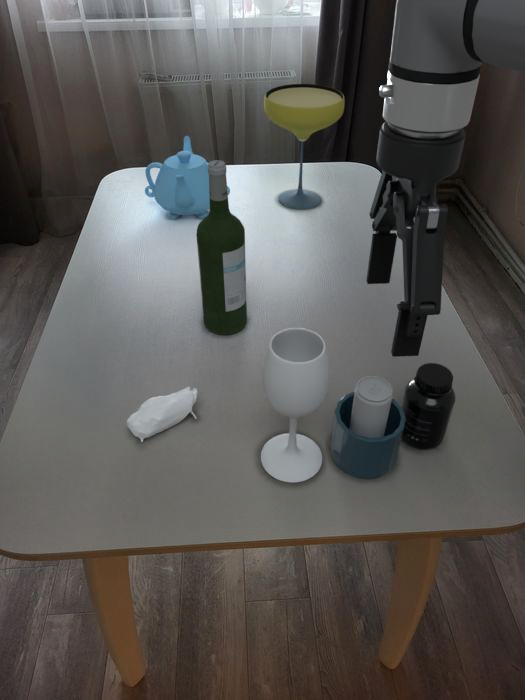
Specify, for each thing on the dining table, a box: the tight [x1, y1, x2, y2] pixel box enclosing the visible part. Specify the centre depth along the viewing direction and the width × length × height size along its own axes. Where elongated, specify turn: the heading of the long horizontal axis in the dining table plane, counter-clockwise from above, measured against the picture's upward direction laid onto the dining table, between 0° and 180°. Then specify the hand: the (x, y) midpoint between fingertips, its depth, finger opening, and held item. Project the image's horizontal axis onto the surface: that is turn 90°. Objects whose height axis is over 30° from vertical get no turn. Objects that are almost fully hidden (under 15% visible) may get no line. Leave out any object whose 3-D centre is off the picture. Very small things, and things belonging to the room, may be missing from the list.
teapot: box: [144, 135, 231, 220], centre depth 132 cm, size 16×20×14 cm
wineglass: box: [260, 327, 330, 484], centre depth 72 cm, size 9×9×21 cm
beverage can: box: [349, 375, 394, 438], centre depth 75 cm, size 5×5×12 cm
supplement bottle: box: [400, 362, 456, 450], centre depth 78 cm, size 7×7×12 cm
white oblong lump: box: [126, 386, 199, 443], centre depth 82 cm, size 5×7×10 cm
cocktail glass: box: [263, 83, 346, 210], centre depth 132 cm, size 18×18×25 cm
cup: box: [330, 390, 406, 480], centre depth 77 cm, size 9×9×8 cm
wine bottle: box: [195, 159, 248, 336], centre depth 92 cm, size 8×8×30 cm
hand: (390, 315), depth 63 cm, fingers open, 13 cm apart
